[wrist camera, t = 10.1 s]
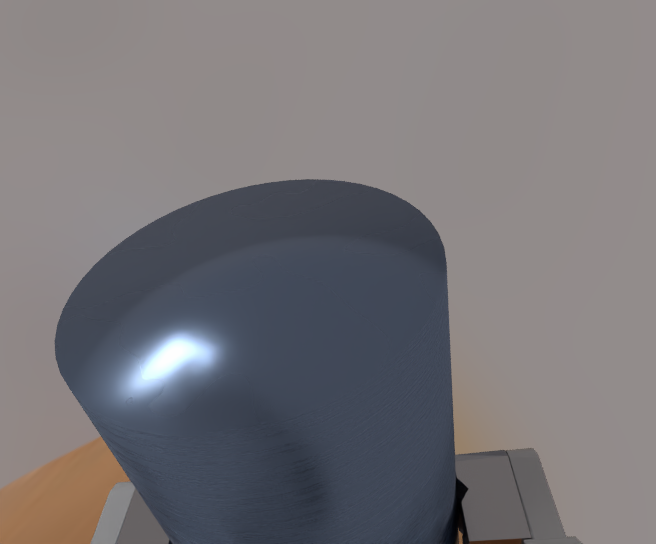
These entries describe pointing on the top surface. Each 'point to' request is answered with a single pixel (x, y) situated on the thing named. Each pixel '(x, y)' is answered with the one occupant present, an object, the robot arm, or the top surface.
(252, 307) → the tall blue steel cylinder
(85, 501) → the top surface
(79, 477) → the top surface
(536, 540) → the robot arm
